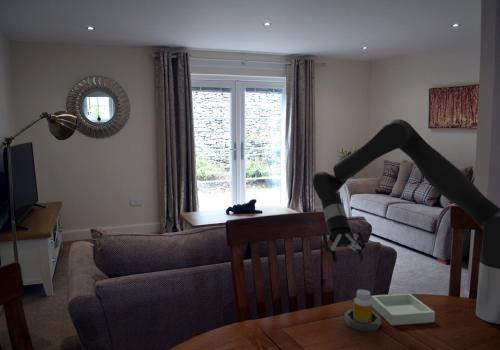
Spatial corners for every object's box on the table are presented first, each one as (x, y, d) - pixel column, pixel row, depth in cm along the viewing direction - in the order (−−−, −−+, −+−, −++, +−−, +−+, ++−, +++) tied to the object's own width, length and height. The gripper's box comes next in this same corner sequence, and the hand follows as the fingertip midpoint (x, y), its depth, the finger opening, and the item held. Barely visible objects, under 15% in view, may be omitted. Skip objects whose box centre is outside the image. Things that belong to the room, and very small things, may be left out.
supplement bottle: (372, 327, 118) (373, 296, 116) (353, 325, 119) (354, 294, 118) (370, 319, 123) (372, 289, 122) (352, 317, 124) (353, 287, 123)
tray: (408, 302, 135) (409, 293, 135) (434, 322, 121) (435, 312, 121) (370, 304, 133) (370, 295, 132) (391, 325, 119) (392, 315, 119)
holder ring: (370, 313, 126) (370, 307, 126) (385, 329, 117) (386, 323, 116) (340, 315, 125) (340, 309, 125) (353, 332, 115) (353, 325, 115)
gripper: (319, 214, 136) (330, 258, 126) (359, 213, 139) (372, 256, 129) (314, 226, 142) (324, 268, 132) (352, 224, 144) (364, 266, 135)
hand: (348, 262), depth 130 cm, fingers open, 8 cm apart
